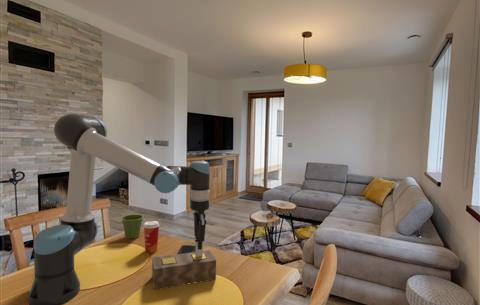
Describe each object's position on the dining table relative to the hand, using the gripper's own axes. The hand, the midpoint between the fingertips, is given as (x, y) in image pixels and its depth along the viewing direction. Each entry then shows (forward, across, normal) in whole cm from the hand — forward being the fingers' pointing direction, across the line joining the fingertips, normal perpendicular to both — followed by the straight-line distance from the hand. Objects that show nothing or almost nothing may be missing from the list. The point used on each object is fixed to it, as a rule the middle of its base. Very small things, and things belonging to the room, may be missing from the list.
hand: (199, 255), depth 111 cm
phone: (+9, +23, +1) cm, 25 cm away
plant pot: (+9, +53, +26) cm, 60 cm away
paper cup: (+9, +31, +17) cm, 36 cm away
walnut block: (+9, 0, +6) cm, 10 cm away
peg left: (+7, 0, +12) cm, 14 cm away
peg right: (+7, 0, 0) cm, 7 cm away
